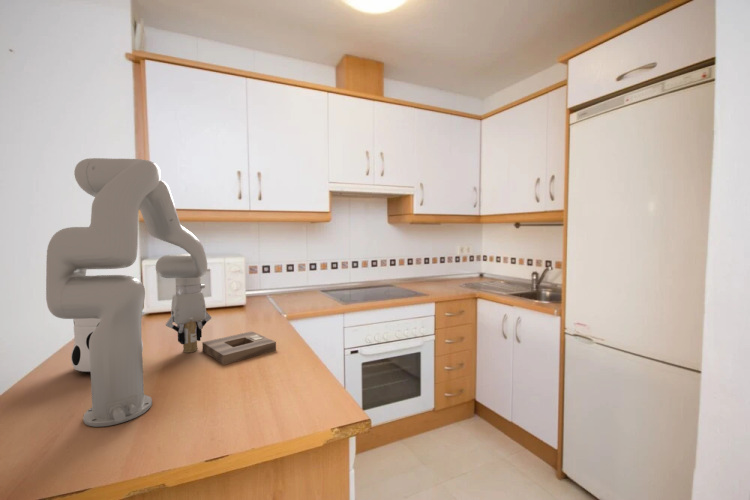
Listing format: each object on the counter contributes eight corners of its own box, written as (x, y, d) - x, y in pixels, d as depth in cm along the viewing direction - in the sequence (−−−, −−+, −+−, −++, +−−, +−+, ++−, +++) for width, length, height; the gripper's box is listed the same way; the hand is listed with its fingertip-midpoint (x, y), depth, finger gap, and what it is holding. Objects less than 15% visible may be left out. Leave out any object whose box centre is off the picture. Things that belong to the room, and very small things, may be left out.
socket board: (276, 350, 119) (275, 341, 119) (223, 364, 106) (223, 354, 106) (252, 338, 132) (251, 330, 132) (202, 350, 119) (202, 341, 119)
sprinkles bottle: (198, 351, 118) (197, 312, 117) (183, 354, 116) (182, 314, 115) (196, 347, 122) (195, 310, 121) (182, 350, 120) (180, 312, 119)
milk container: (86, 360, 110) (84, 305, 109) (149, 353, 116) (147, 301, 115) (59, 382, 94) (56, 317, 93) (134, 373, 100) (132, 312, 99)
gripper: (209, 285, 126) (211, 334, 127) (157, 291, 114) (159, 345, 115) (217, 287, 121) (219, 338, 122) (163, 294, 109) (165, 350, 110)
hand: (190, 341), depth 119 cm, fingers closed on sprinkles bottle, 4 cm apart
